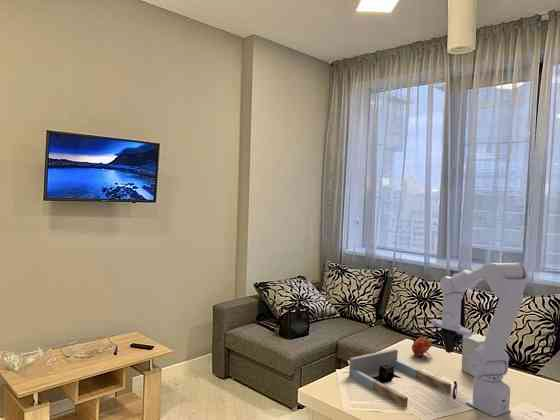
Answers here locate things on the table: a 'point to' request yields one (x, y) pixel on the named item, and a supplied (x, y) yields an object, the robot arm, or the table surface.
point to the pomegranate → (421, 346)
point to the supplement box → (470, 349)
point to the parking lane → (375, 360)
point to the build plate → (386, 374)
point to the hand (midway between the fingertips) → (449, 351)
